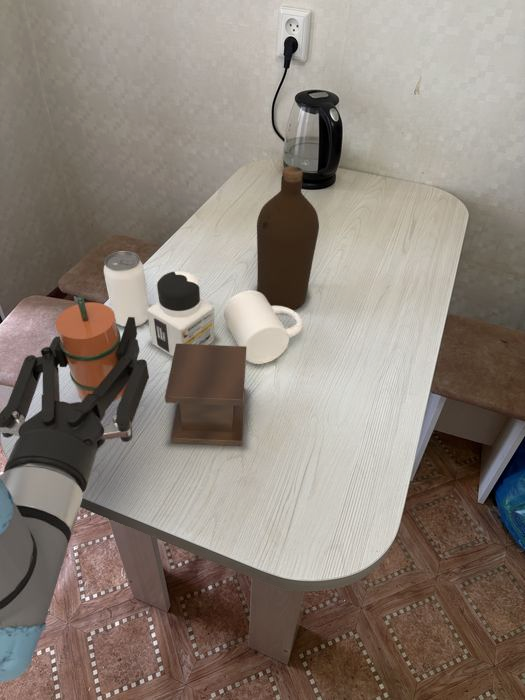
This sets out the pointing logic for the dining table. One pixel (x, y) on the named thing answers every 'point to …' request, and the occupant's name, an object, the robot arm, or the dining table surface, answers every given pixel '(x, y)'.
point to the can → (126, 287)
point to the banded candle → (89, 344)
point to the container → (180, 313)
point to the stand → (207, 394)
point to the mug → (259, 326)
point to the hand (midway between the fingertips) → (104, 324)
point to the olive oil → (286, 243)
